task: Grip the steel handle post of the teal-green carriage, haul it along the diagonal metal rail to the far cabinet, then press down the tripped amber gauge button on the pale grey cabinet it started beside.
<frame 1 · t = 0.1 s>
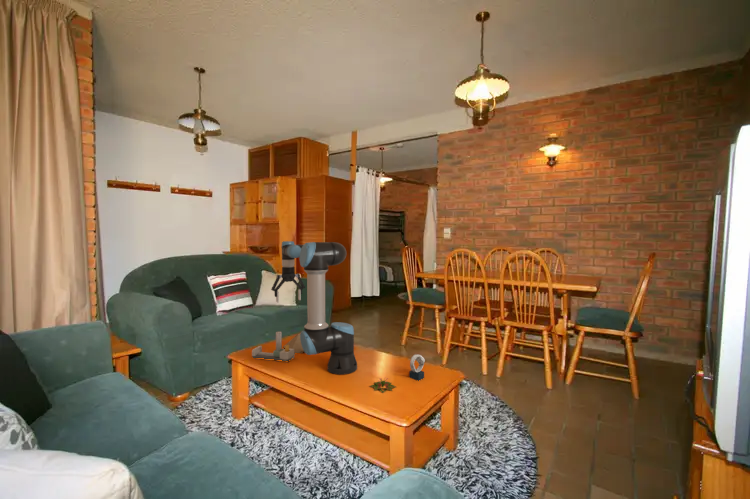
hand: (288, 301, 205), 28 cm above the table, fingers open, 13 cm apart
model pyramid: (299, 349, 201), on the table
green leafy ornament: (383, 388, 150), on the table
watch: (416, 378, 160), on the table
gauge button: (287, 349, 183), point 6 cm above the table, slide at 0.0 cm
rail bench: (273, 358, 185), on the table
carriage: (278, 343, 184), point 8 cm above the table, slide at 0.0 cm
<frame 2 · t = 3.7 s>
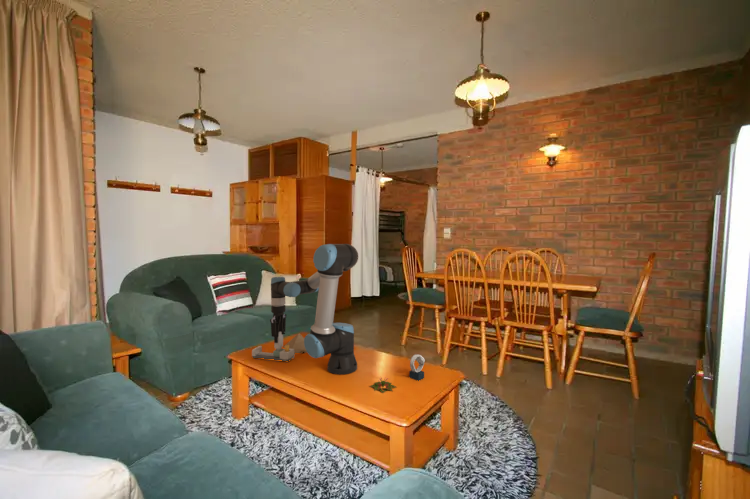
hand: (278, 347, 184), 7 cm above the table, fingers closed on carriage, 3 cm apart
carriage: (278, 343, 184), point 8 cm above the table, slide at 0.0 cm, touching gripper
everything else where it was.
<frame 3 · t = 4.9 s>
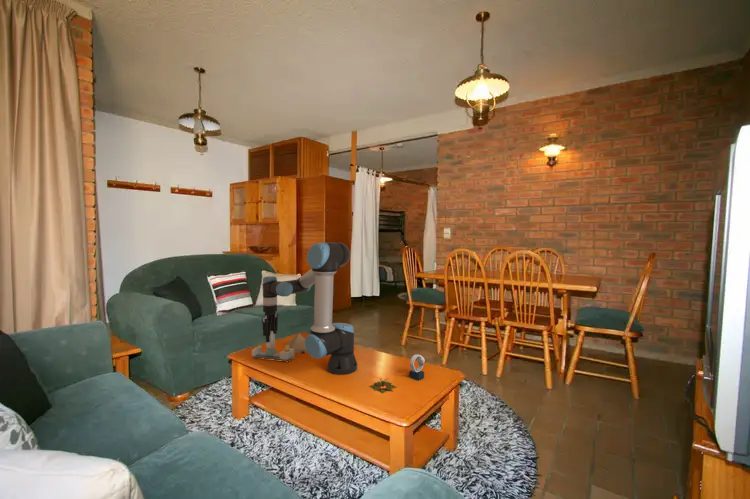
hand: (270, 346, 186), 7 cm above the table, fingers closed on carriage, 3 cm apart
carriage: (270, 343, 185), point 8 cm above the table, slide at 5.1 cm, touching gripper
everything else where it was.
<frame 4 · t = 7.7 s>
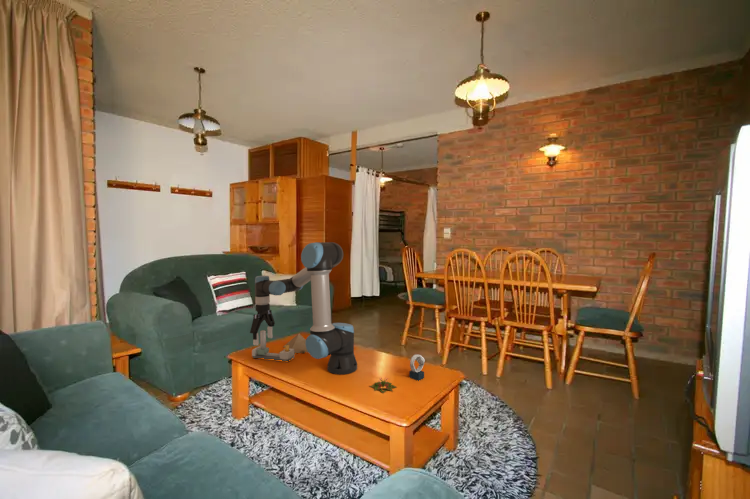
hand: (263, 341, 187), 9 cm above the table, fingers open, 13 cm apart
carriage: (263, 342, 187), point 8 cm above the table, slide at 9.8 cm
everything else where it was.
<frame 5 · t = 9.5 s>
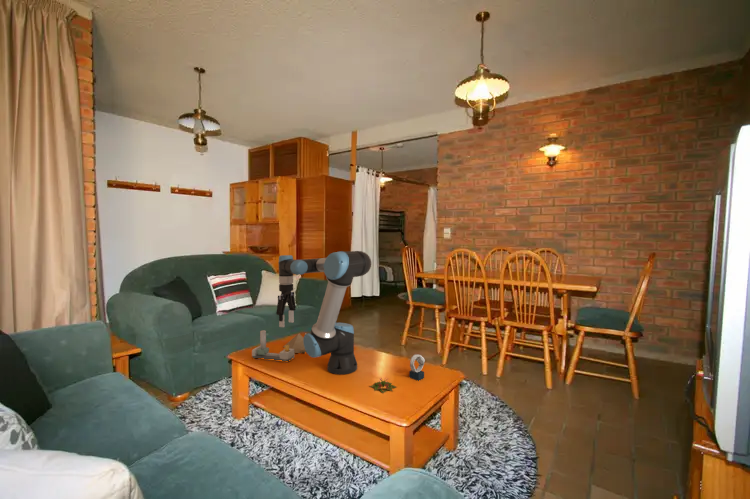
hand: (286, 324, 182), 19 cm above the table, fingers open, 9 cm apart
nothing on the table moved.
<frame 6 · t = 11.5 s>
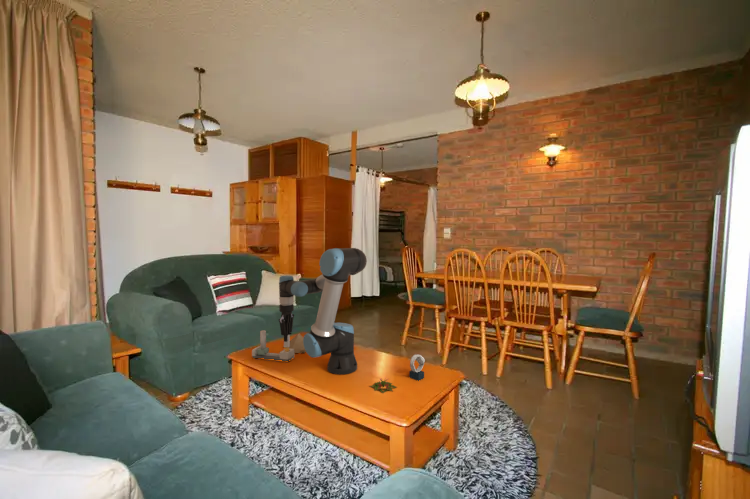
hand: (286, 346, 183), 7 cm above the table, fingers closed
gauge button: (287, 350, 183), point 5 cm above the table, slide at 1.0 cm, touching gripper
everything else where it was.
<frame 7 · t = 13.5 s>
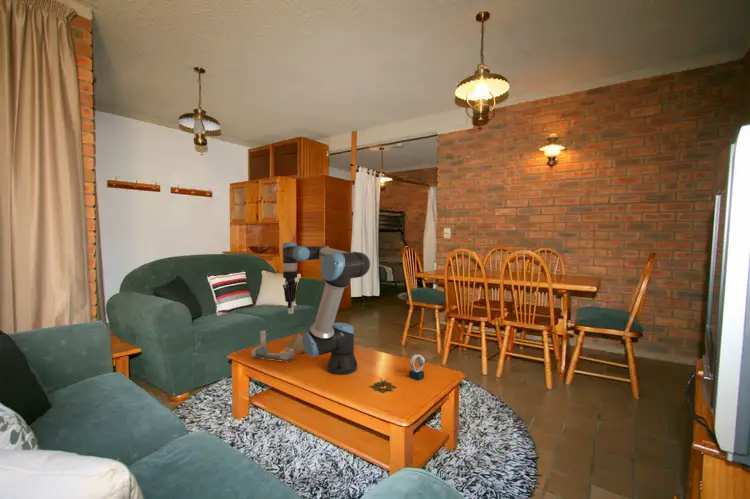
hand: (290, 313, 184), 25 cm above the table, fingers closed
gauge button: (287, 351, 183), point 5 cm above the table, slide at 1.3 cm
everything else where it was.
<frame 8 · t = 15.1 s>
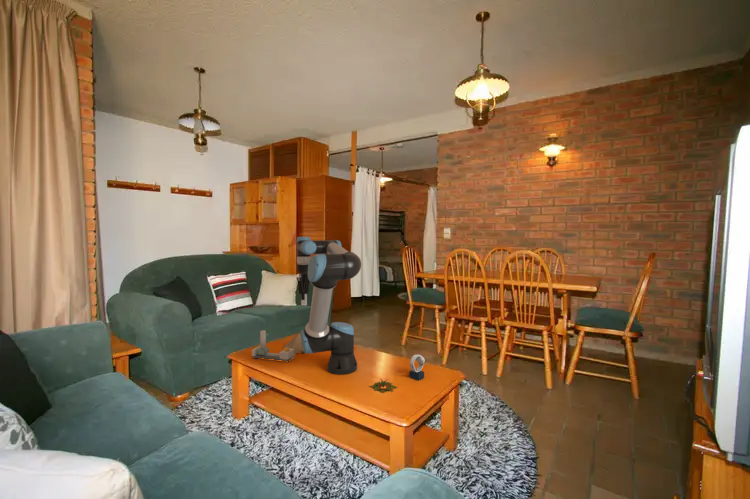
hand: (304, 305, 190), 28 cm above the table, fingers closed
nothing on the table moved.
at the end: carriage slide at 9.8 cm; gauge button slide at 1.3 cm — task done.
